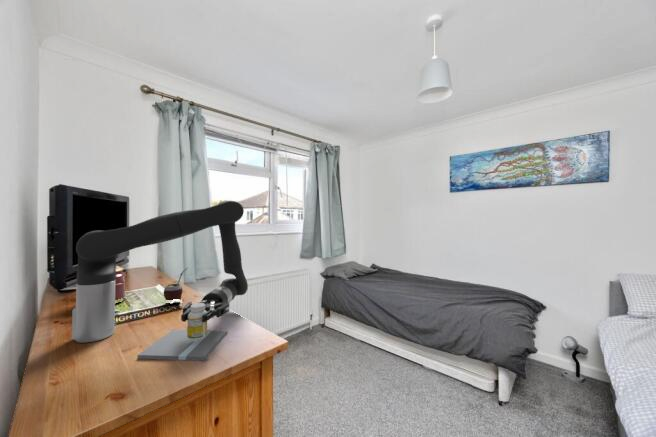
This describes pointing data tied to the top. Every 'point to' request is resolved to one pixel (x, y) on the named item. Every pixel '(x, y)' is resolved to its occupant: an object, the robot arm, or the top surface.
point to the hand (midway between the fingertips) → (193, 318)
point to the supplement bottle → (196, 322)
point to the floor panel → (183, 346)
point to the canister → (119, 283)
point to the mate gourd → (173, 290)
